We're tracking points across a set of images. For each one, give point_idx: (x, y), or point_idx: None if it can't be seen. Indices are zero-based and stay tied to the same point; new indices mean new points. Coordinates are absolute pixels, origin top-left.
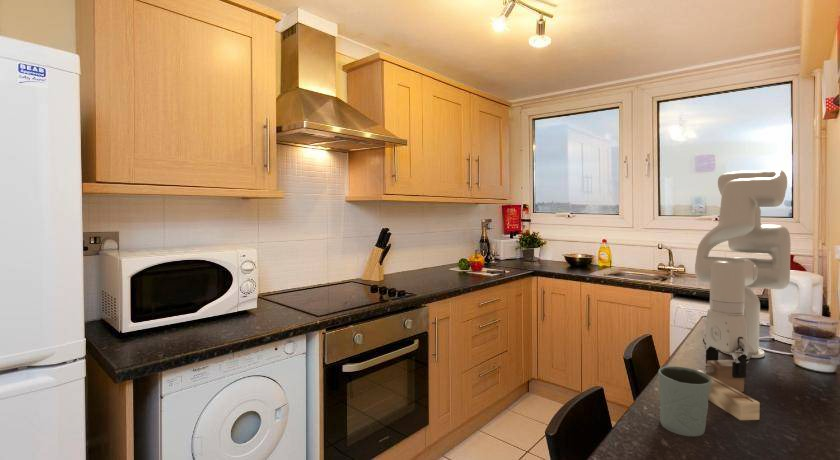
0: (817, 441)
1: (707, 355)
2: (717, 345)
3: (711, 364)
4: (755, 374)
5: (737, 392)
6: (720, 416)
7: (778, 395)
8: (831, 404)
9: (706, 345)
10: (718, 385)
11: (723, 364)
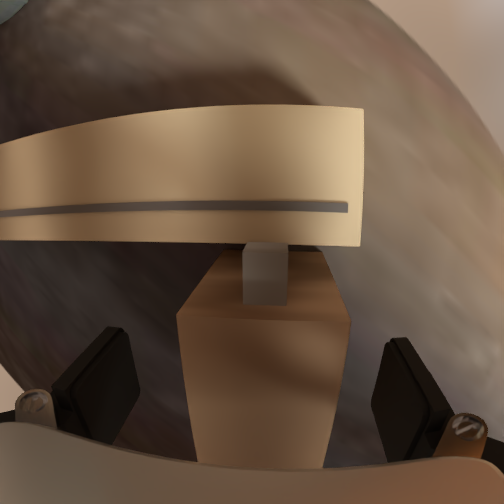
0: None
1: (416, 382)
2: (151, 502)
3: (279, 312)
4: None
5: (11, 220)
6: (22, 103)
7: (190, 446)
8: None
9: (471, 445)
10: (76, 177)
11: (227, 386)
